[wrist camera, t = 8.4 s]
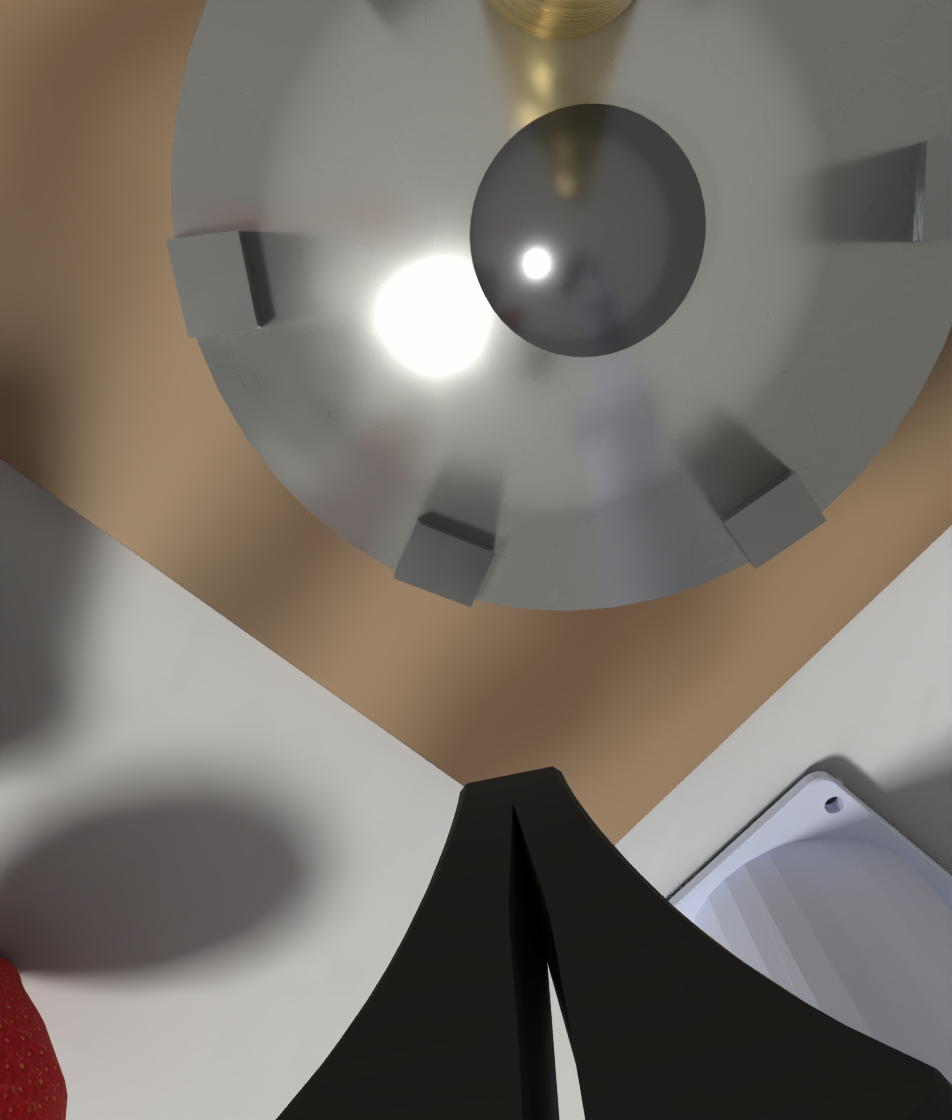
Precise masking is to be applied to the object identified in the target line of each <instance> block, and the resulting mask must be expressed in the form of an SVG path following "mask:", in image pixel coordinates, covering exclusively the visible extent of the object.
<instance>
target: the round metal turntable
mask: <svg viewBox="0 0 952 1120" xmlns="http://www.w3.org/2000/svg"><path fill="white" fill-rule="evenodd" d="M171 193H172V219H173V235H174V239H167V240H166V242H167V246H168V251H169V255H170V259H171V264H172V268H173V272H174V277H175V281H176V286H177V290H178V294H179V299H180V303H181V307H182V312H183V316H184V321H185V325H186V329H187V334H188V338H193V337H196V338H197V341H198V344H199V347H200V349H201V351H202V353H203V356H204V358H205V360H206V363H207V365H208V367H209V370H210V372H211V374H212V377H213V379H214V381H215V384H216V386H217V388H218V391H219V393H220V395H221V396H222V398H223V400H224V401H225V403H226V405H227V407H228V408H229V410H230V412H231V413H232V415H233V417H234V419H235V420H236V422H237V424H238V425H239V427H240V429H241V430H242V432H243V434H244V436H245V437H246V439H247V440H248V441H249V443H250V444H251V445H252V447H253V448H254V449H255V451H256V452H257V453H258V454H259V456H260V457H261V458H262V460H263V461H264V462H265V464H266V465H267V466H268V468H269V469H270V470H271V471H272V473H273V474H274V475H275V477H276V478H277V479H278V480H279V481H280V482H281V483H282V484H283V485H284V486H285V487H286V488H287V489H288V490H289V491H290V492H291V493H292V494H293V495H294V496H295V497H296V498H297V499H298V501H299V502H300V503H301V504H302V505H303V506H304V507H305V508H306V509H307V510H308V511H309V512H310V513H311V514H312V515H314V516H315V517H316V518H317V519H319V520H320V521H321V522H323V523H324V524H325V525H326V526H328V527H329V528H330V529H331V530H333V531H334V532H335V533H336V534H338V535H339V536H340V537H341V538H343V539H344V540H345V541H347V542H348V543H349V544H351V545H352V546H354V547H355V548H357V549H359V550H360V551H362V552H364V553H365V554H367V555H369V556H370V557H372V558H374V559H375V560H377V561H379V562H380V563H382V564H383V565H385V566H387V567H388V568H390V569H392V570H395V573H394V579H396V580H399V581H402V582H404V583H407V584H410V585H412V586H415V587H418V588H420V589H423V590H426V591H428V592H431V593H434V594H436V595H439V596H442V597H444V598H447V599H450V600H453V601H455V602H458V603H461V604H463V605H466V606H469V607H471V606H472V604H473V601H474V600H475V601H480V602H486V603H492V604H497V605H503V606H509V607H515V608H520V609H538V610H559V611H573V610H586V609H600V608H613V607H618V606H623V605H628V604H633V603H638V602H643V601H649V600H654V599H658V598H661V597H664V596H668V595H671V594H674V593H677V592H680V591H683V590H686V589H689V588H692V587H695V586H699V585H702V584H704V583H706V582H708V581H710V580H713V579H715V578H717V577H719V576H721V575H723V574H726V573H728V572H730V571H732V570H734V569H737V568H739V567H741V566H743V565H745V564H747V563H748V562H750V564H751V565H752V566H753V567H754V568H756V569H757V568H758V567H760V566H761V565H763V564H764V563H766V562H767V561H769V560H770V559H772V558H773V557H774V556H776V555H777V554H779V553H780V552H782V551H783V550H785V549H786V548H788V547H789V546H791V545H792V544H793V543H795V542H796V541H798V540H799V539H801V538H802V537H804V536H805V535H807V534H808V533H810V532H811V531H812V530H814V529H815V528H817V527H818V526H820V525H821V524H823V523H824V522H826V521H827V520H826V519H825V517H824V515H823V514H822V511H824V510H825V509H826V508H827V507H828V506H829V505H830V504H831V503H832V502H833V501H834V500H835V499H836V498H837V497H838V496H839V495H840V494H841V493H842V492H843V491H844V490H845V489H846V488H847V487H848V486H849V485H850V484H851V483H853V482H854V481H855V480H856V479H857V478H858V477H859V476H860V474H861V473H862V472H863V471H864V470H865V468H866V467H867V466H868V465H869V464H870V462H871V461H872V460H873V459H874V457H875V456H876V455H877V454H878V453H879V451H880V450H881V449H882V448H883V447H884V445H885V444H886V443H887V442H888V440H889V439H890V438H891V437H892V435H893V434H894V432H895V431H896V429H897V428H898V426H899V425H900V423H901V422H902V420H903V418H904V417H905V415H906V414H907V412H908V411H909V409H910V408H911V406H912V405H913V403H914V402H915V400H916V399H917V397H918V396H919V394H920V392H921V390H922V388H923V386H924V384H925V382H926V380H927V378H928V376H929V374H930V372H931V370H932V368H933V366H934V364H935V362H936V361H937V359H938V357H939V355H940V353H941V351H942V349H943V347H944V344H945V342H946V339H947V336H948V334H949V331H950V328H951V325H952V0H207V3H206V6H205V8H204V11H203V14H202V17H201V20H200V23H199V25H198V28H197V31H196V34H195V37H194V39H193V42H192V45H191V48H190V51H189V54H188V59H187V64H186V68H185V73H184V78H183V82H182V87H181V92H180V96H179V101H178V106H177V110H176V118H175V130H174V141H173V153H172V164H171Z"/></svg>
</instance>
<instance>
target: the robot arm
mask: <svg viewBox="0 0 952 1120" xmlns="http://www.w3.org/2000/svg"><path fill="white" fill-rule="evenodd" d="M832 797H837V798H836V800H835V801H834V802H833V803H831V804H826V805H825V803H826V801H827V800H828V799H830V798H832ZM547 963H548V965H547ZM548 966H549V970H550V973H551V977H552V981H553V984H554V988H555V991H556V995H557V998H558V1002H559V1006H560V1009H561V1013H562V1016H563V1020H564V1023H565V1027H566V1031H567V1034H568V1038H569V1041H570V1045H571V1048H572V1052H573V1055H574V1059H575V1063H576V1067H577V1073H578V1079H579V1084H580V1090H581V1096H582V1102H583V1108H584V1114H585V1120H952V875H951V874H949V873H948V872H947V871H946V870H945V869H943V868H942V867H941V866H940V865H939V864H937V863H936V862H935V861H934V860H933V859H931V858H930V857H929V856H928V855H927V854H925V853H924V852H923V851H922V850H920V849H919V848H918V847H917V846H916V845H914V844H913V843H912V842H911V841H910V840H908V839H907V838H906V837H905V836H904V835H902V834H901V833H900V832H899V831H898V830H896V829H895V828H894V827H893V826H892V825H890V824H889V823H888V822H887V821H886V820H884V819H883V818H882V817H881V816H880V815H878V814H877V813H876V812H875V811H874V810H872V809H871V808H870V807H869V806H867V805H866V804H865V803H864V802H863V801H861V800H860V799H859V798H858V797H857V796H855V795H854V794H853V793H852V792H851V791H849V790H848V789H847V788H846V787H845V786H843V785H842V784H841V783H840V782H839V781H837V780H836V779H835V778H834V777H833V776H831V775H830V774H828V773H826V772H822V771H816V772H812V773H810V774H808V775H807V776H805V777H804V778H803V779H801V780H800V781H799V782H798V783H797V784H796V785H795V786H794V787H793V788H792V789H790V790H789V791H788V792H787V793H786V794H785V795H784V796H783V797H782V798H781V799H780V800H778V801H777V802H776V803H775V804H774V805H773V806H772V807H771V808H770V809H769V810H767V811H766V812H765V813H764V814H763V815H762V816H761V817H760V818H759V819H758V820H756V821H755V822H754V823H753V824H752V825H751V826H750V827H749V828H748V829H747V830H746V831H744V832H743V833H742V834H741V835H740V836H739V837H738V838H737V839H736V840H735V841H733V842H732V843H731V844H730V845H729V846H728V847H727V848H726V849H725V850H724V851H723V852H721V853H720V854H719V855H718V856H717V857H716V858H715V859H714V860H713V861H712V862H710V863H709V864H708V865H707V866H706V867H705V868H704V869H703V870H702V871H701V872H699V873H698V874H697V875H696V876H695V877H694V878H693V879H692V880H691V881H690V882H689V883H687V884H686V885H685V886H684V887H683V888H682V889H681V890H680V891H679V892H678V893H676V894H675V895H674V896H673V897H672V898H671V899H670V900H669V901H668V900H667V899H665V898H664V897H663V896H662V895H661V894H660V893H659V892H658V891H657V890H656V889H655V888H654V887H653V886H652V885H651V884H650V883H649V882H648V881H647V880H646V879H645V878H644V877H643V876H642V875H641V874H640V873H639V872H638V871H637V870H636V869H635V868H634V867H633V866H632V865H631V864H630V863H629V862H628V861H627V860H626V859H625V858H624V856H623V855H622V854H621V853H620V852H619V851H618V850H617V848H616V847H615V846H614V845H613V844H612V843H611V842H610V840H609V839H608V838H607V837H606V836H605V835H604V833H603V832H602V831H601V830H600V829H599V828H598V826H597V825H596V824H595V823H594V821H593V820H592V819H591V817H590V816H589V815H588V813H587V812H586V811H585V809H584V808H583V807H582V805H581V804H580V802H579V801H578V800H577V798H576V797H575V795H574V794H573V792H572V790H571V789H570V787H569V785H568V784H567V782H566V780H565V778H564V776H563V774H562V772H561V771H560V770H558V769H556V768H555V767H553V766H551V767H546V768H541V769H536V770H531V771H526V772H521V773H516V774H511V775H506V776H501V777H496V778H491V779H486V780H481V781H476V782H471V783H467V784H466V785H465V786H464V788H463V789H462V790H461V792H460V796H459V801H458V805H457V809H456V812H455V816H454V819H453V822H452V826H451V829H450V832H449V835H448V837H447V840H446V843H445V846H444V849H443V851H442V854H441V856H440V859H439V861H438V864H437V866H436V869H435V871H434V874H433V876H432V879H431V881H430V884H429V886H428V888H427V891H426V893H425V895H424V897H423V899H422V901H421V903H420V905H419V907H418V910H417V912H416V914H415V916H414V918H413V920H412V922H411V924H410V926H409V928H408V930H407V932H406V934H405V936H404V938H403V940H402V942H401V944H400V946H399V947H398V949H397V951H396V953H395V955H394V957H393V958H392V960H391V962H390V964H389V965H388V967H387V969H386V971H385V972H384V974H383V975H382V977H381V979H380V980H379V982H378V984H377V985H376V987H375V989H374V990H373V992H372V993H371V995H370V997H369V998H368V1000H367V1001H366V1003H365V1004H364V1006H363V1007H362V1009H361V1010H360V1012H359V1013H358V1014H357V1016H356V1017H355V1019H354V1020H353V1022H352V1023H351V1025H350V1026H349V1028H348V1029H347V1030H346V1032H345V1033H344V1035H343V1036H342V1038H341V1039H340V1041H339V1042H338V1043H337V1045H336V1046H335V1047H334V1049H333V1050H332V1051H331V1053H330V1054H329V1055H328V1057H327V1058H326V1059H325V1061H324V1062H323V1063H322V1065H321V1066H320V1067H319V1069H318V1070H317V1071H316V1072H315V1073H314V1075H313V1076H312V1077H311V1078H310V1079H309V1081H308V1082H307V1083H306V1084H305V1085H304V1087H303V1088H302V1089H301V1090H300V1091H299V1093H298V1094H297V1095H296V1096H295V1097H294V1098H293V1100H292V1101H291V1102H290V1103H289V1104H288V1106H287V1107H286V1108H285V1109H284V1110H283V1112H282V1113H281V1114H280V1115H279V1116H278V1118H277V1119H276V1120H559V1109H558V1095H557V1082H556V1069H555V1056H554V1043H553V1029H552V1016H551V1003H550V990H549V978H548Z"/></svg>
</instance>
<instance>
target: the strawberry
mask: <svg viewBox="0 0 952 1120" xmlns="http://www.w3.org/2000/svg"><path fill="white" fill-rule="evenodd" d="M66 1107H67V1090H66V1085H65V1080H64V1077H63V1074H62V1071H61V1068H60V1066H59V1063H58V1060H57V1057H56V1054H55V1051H54V1049H53V1046H52V1043H51V1040H50V1037H49V1035H48V1032H47V1029H46V1026H45V1023H44V1021H43V1019H42V1018H41V1016H40V1014H39V1012H38V1010H37V1009H36V1007H35V1006H34V1004H33V1002H32V1001H31V999H30V998H29V996H28V994H27V993H26V991H25V989H24V987H23V985H22V982H21V977H20V975H19V973H18V971H17V969H16V968H15V967H14V965H13V964H11V963H10V962H9V961H8V960H6V959H4V958H2V957H0V1120H65V1118H66Z"/></svg>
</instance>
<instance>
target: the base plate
mask: <svg viewBox="0 0 952 1120" xmlns="http://www.w3.org/2000/svg"><path fill="white" fill-rule="evenodd" d="M206 3H207V0H0V458H1V459H2V460H3V461H5V462H6V463H8V464H9V465H11V466H12V467H13V468H15V469H16V470H18V471H19V472H20V473H22V474H23V475H25V476H26V477H27V478H29V479H30V480H32V481H33V482H35V483H36V484H37V485H39V486H40V487H42V488H43V489H44V490H46V491H47V492H49V493H50V494H52V495H53V496H54V497H56V498H57V499H59V500H60V501H61V502H63V503H64V504H66V505H67V506H68V507H70V508H71V509H73V510H74V511H76V512H77V513H78V514H80V515H81V516H83V517H84V518H85V519H87V520H88V521H90V522H91V523H93V524H94V525H95V526H97V527H98V528H100V529H101V530H102V531H104V532H105V533H107V534H108V535H109V536H111V537H112V538H114V539H115V540H117V541H118V542H119V543H121V544H122V545H124V546H125V547H126V548H128V549H129V550H131V551H132V552H133V553H135V554H136V555H138V556H139V557H141V558H142V559H143V560H145V561H146V562H148V563H149V564H150V565H152V566H153V567H155V568H156V569H158V570H159V571H160V572H162V573H163V574H165V575H166V576H167V577H169V578H170V579H172V580H173V581H174V582H176V583H177V584H179V585H180V586H182V587H183V588H184V589H186V590H187V591H189V592H190V593H191V594H193V595H194V596H196V597H197V598H199V599H200V600H201V601H203V602H204V603H206V604H207V605H208V606H210V607H211V608H213V609H214V610H215V611H217V612H218V613H220V614H221V615H223V616H224V617H225V618H227V619H228V620H230V621H231V622H232V623H234V624H235V625H237V626H238V627H239V628H241V629H242V630H244V631H245V632H247V633H248V634H249V635H251V636H252V637H254V638H255V639H256V640H258V641H259V642H261V643H262V644H264V645H265V646H266V647H268V648H269V649H271V650H272V651H273V652H275V653H276V654H278V655H279V656H280V657H282V658H283V659H285V660H286V661H288V662H289V663H290V664H292V665H293V666H295V667H296V668H297V669H299V670H300V671H302V672H303V673H305V674H306V675H307V676H309V677H310V678H312V679H313V680H314V681H316V682H317V683H319V684H320V685H321V686H323V687H324V688H326V689H327V690H329V691H330V692H331V693H333V694H334V695H336V696H337V697H338V698H340V699H341V700H343V701H344V702H345V703H347V704H348V705H350V706H351V707H353V708H354V709H355V710H357V711H358V712H360V713H361V714H362V715H364V716H365V717H367V718H368V719H370V720H371V721H372V722H374V723H375V724H377V725H378V726H379V727H381V728H382V729H384V730H385V731H386V732H388V733H389V734H391V735H392V736H394V737H395V738H396V739H398V740H399V741H401V742H402V743H403V744H405V745H406V746H408V747H409V748H411V749H412V750H413V751H415V752H416V753H418V754H419V755H420V756H422V757H423V758H425V759H426V760H427V761H429V762H430V763H432V764H433V765H435V766H436V767H437V768H439V769H440V770H442V771H443V772H444V773H446V774H447V775H449V776H450V777H451V778H453V779H454V780H456V781H457V782H459V783H460V784H461V785H463V786H465V785H466V784H467V783H471V782H476V781H481V780H486V779H491V778H496V777H501V776H506V775H511V774H516V773H521V772H526V771H531V770H536V769H541V768H546V767H551V766H553V767H555V768H556V769H558V770H560V771H561V772H562V774H563V776H564V778H565V780H566V782H567V784H568V785H569V787H570V789H571V790H572V792H573V794H574V795H575V797H576V798H577V800H578V801H579V802H580V804H581V805H582V807H583V808H584V809H585V811H586V812H587V813H588V815H589V816H590V817H591V819H592V820H593V821H594V823H595V824H596V825H597V826H598V828H599V829H600V830H601V831H602V832H603V833H604V835H605V836H606V837H607V838H608V839H609V840H610V842H611V843H612V844H613V845H615V844H616V843H617V842H618V841H619V840H620V839H622V838H623V837H624V836H625V835H626V834H627V833H628V832H629V831H630V830H631V829H632V828H633V827H634V826H635V825H636V824H637V823H638V822H639V821H640V820H642V819H643V818H644V817H645V816H646V815H647V814H648V813H649V812H650V811H651V810H652V809H653V808H654V807H655V806H656V805H657V804H658V803H659V802H660V801H662V800H663V799H664V798H665V797H666V796H667V795H668V794H669V793H670V792H671V791H672V790H673V789H674V788H675V787H676V786H677V785H678V784H679V783H680V782H681V781H683V780H684V779H685V778H686V777H687V776H688V775H689V774H690V773H691V772H692V771H693V770H694V769H695V768H696V767H697V766H698V765H699V764H700V763H701V762H703V761H704V760H705V759H706V758H707V757H708V756H709V755H710V754H711V753H712V752H713V751H714V750H715V749H716V748H717V747H718V746H719V745H720V744H721V743H723V742H724V741H725V740H726V739H727V738H728V737H729V736H730V735H731V734H732V733H733V732H734V731H735V730H736V729H737V728H738V727H739V726H740V725H741V724H743V723H744V722H745V721H746V720H747V719H748V718H749V717H750V716H751V715H752V714H753V713H754V712H755V711H756V710H757V709H758V708H759V707H760V706H761V705H762V704H764V703H765V702H766V701H767V700H768V699H769V698H770V697H771V696H772V695H773V694H774V693H775V692H776V691H777V690H778V689H779V688H780V687H781V686H782V685H784V684H785V683H786V682H787V681H788V680H789V679H790V678H791V677H792V676H793V675H794V674H795V673H796V672H797V671H798V670H799V669H800V668H801V667H802V666H804V665H805V664H806V663H807V662H808V661H809V660H810V659H811V658H812V657H813V656H814V655H815V654H816V653H817V652H818V651H819V650H820V649H821V648H822V647H823V646H825V645H826V644H827V643H828V642H829V641H830V640H831V639H832V638H833V637H834V636H835V635H836V634H837V633H838V632H839V631H840V630H841V629H842V628H843V627H845V626H846V625H847V624H848V623H849V622H850V621H851V620H852V619H853V618H854V617H855V616H856V615H857V614H858V613H859V612H860V611H861V610H862V609H863V608H865V607H866V606H867V605H868V604H869V603H870V602H871V601H872V600H873V599H874V598H875V597H876V596H877V595H878V594H879V593H880V592H881V591H882V590H883V589H885V588H886V587H887V586H888V585H889V584H890V583H891V582H892V581H893V580H894V579H895V578H896V577H897V576H898V575H899V574H900V573H901V572H902V571H903V570H904V569H906V568H907V567H908V566H909V565H910V564H911V563H912V562H913V561H914V560H915V559H916V558H917V557H918V556H919V555H920V554H921V553H922V552H923V551H924V550H926V549H927V548H928V547H929V546H930V545H931V544H932V543H933V542H934V541H935V540H936V539H937V538H938V537H939V536H940V535H941V534H942V533H943V532H944V531H946V530H947V529H948V528H949V527H950V526H951V525H952V325H951V328H950V331H949V334H948V336H947V339H946V342H945V344H944V347H943V349H942V351H941V353H940V355H939V357H938V359H937V361H936V362H935V364H934V366H933V368H932V370H931V372H930V374H929V376H928V378H927V380H926V382H925V384H924V386H923V388H922V390H921V392H920V394H919V396H918V397H917V399H916V400H915V402H914V403H913V405H912V406H911V408H910V409H909V411H908V412H907V414H906V415H905V417H904V418H903V420H902V422H901V423H900V425H899V426H898V428H897V429H896V431H895V432H894V434H893V435H892V437H891V438H890V439H889V440H888V442H887V443H886V444H885V445H884V447H883V448H882V449H881V450H880V451H879V453H878V454H877V455H876V456H875V457H874V459H873V460H872V461H871V462H870V464H869V465H868V466H867V467H866V468H865V470H864V471H863V472H862V473H861V474H860V476H859V477H858V478H857V479H856V480H855V481H854V482H853V483H851V484H850V485H849V486H848V487H847V488H846V489H845V490H844V491H843V492H842V493H841V494H840V495H839V496H838V497H837V498H836V499H835V500H834V501H833V502H832V503H831V504H830V505H829V506H828V507H827V508H826V509H825V510H824V511H822V514H823V515H824V517H825V519H826V520H827V521H826V522H824V523H823V524H821V525H820V526H818V527H817V528H815V529H814V530H812V531H811V532H810V533H808V534H807V535H805V536H804V537H802V538H801V539H799V540H798V541H796V542H795V543H793V544H792V545H791V546H789V547H788V548H786V549H785V550H783V551H782V552H780V553H779V554H777V555H776V556H774V557H773V558H772V559H770V560H769V561H767V562H766V563H764V564H763V565H761V566H760V567H758V568H757V569H756V568H754V567H753V566H752V565H751V564H750V562H748V563H747V564H745V565H743V566H741V567H739V568H737V569H734V570H732V571H730V572H728V573H726V574H723V575H721V576H719V577H717V578H715V579H713V580H710V581H708V582H706V583H704V584H702V585H699V586H695V587H692V588H689V589H686V590H683V591H680V592H677V593H674V594H671V595H668V596H664V597H661V598H658V599H654V600H649V601H643V602H638V603H633V604H628V605H623V606H618V607H613V608H600V609H586V610H573V611H559V610H538V609H520V608H515V607H509V606H503V605H497V604H492V603H486V602H480V601H475V600H474V601H473V604H472V606H471V607H469V606H466V605H463V604H461V603H458V602H455V601H453V600H450V599H447V598H444V597H442V596H439V595H436V594H434V593H431V592H428V591H426V590H423V589H420V588H418V587H415V586H412V585H410V584H407V583H404V582H402V581H399V580H396V579H394V573H395V570H392V569H390V568H388V567H387V566H385V565H383V564H382V563H380V562H379V561H377V560H375V559H374V558H372V557H370V556H369V555H367V554H365V553H364V552H362V551H360V550H359V549H357V548H355V547H354V546H352V545H351V544H349V543H348V542H347V541H345V540H344V539H343V538H341V537H340V536H339V535H338V534H336V533H335V532H334V531H333V530H331V529H330V528H329V527H328V526H326V525H325V524H324V523H323V522H321V521H320V520H319V519H317V518H316V517H315V516H314V515H312V514H311V513H310V512H309V511H308V510H307V509H306V508H305V507H304V506H303V505H302V504H301V503H300V502H299V501H298V499H297V498H296V497H295V496H294V495H293V494H292V493H291V492H290V491H289V490H288V489H287V488H286V487H285V486H284V485H283V484H282V483H281V482H280V481H279V480H278V479H277V478H276V477H275V475H274V474H273V473H272V471H271V470H270V469H269V468H268V466H267V465H266V464H265V462H264V461H263V460H262V458H261V457H260V456H259V454H258V453H257V452H256V451H255V449H254V448H253V447H252V445H251V444H250V443H249V441H248V440H247V439H246V437H245V436H244V434H243V432H242V430H241V429H240V427H239V425H238V424H237V422H236V420H235V419H234V417H233V415H232V413H231V412H230V410H229V408H228V407H227V405H226V403H225V401H224V400H223V398H222V396H221V395H220V393H219V391H218V388H217V386H216V384H215V381H214V379H213V377H212V374H211V372H210V370H209V367H208V365H207V363H206V360H205V358H204V356H203V353H202V351H201V349H200V347H199V344H198V341H197V338H196V337H193V338H188V334H187V329H186V325H185V321H184V316H183V312H182V307H181V303H180V299H179V294H178V290H177V286H176V281H175V277H174V272H173V268H172V264H171V259H170V255H169V251H168V246H167V242H166V240H167V239H174V235H173V219H172V193H171V164H172V153H173V141H174V130H175V118H176V110H177V106H178V101H179V96H180V92H181V87H182V82H183V78H184V73H185V68H186V64H187V59H188V54H189V51H190V48H191V45H192V42H193V39H194V37H195V34H196V31H197V28H198V25H199V23H200V20H201V17H202V14H203V11H204V8H205V6H206Z"/></svg>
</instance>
